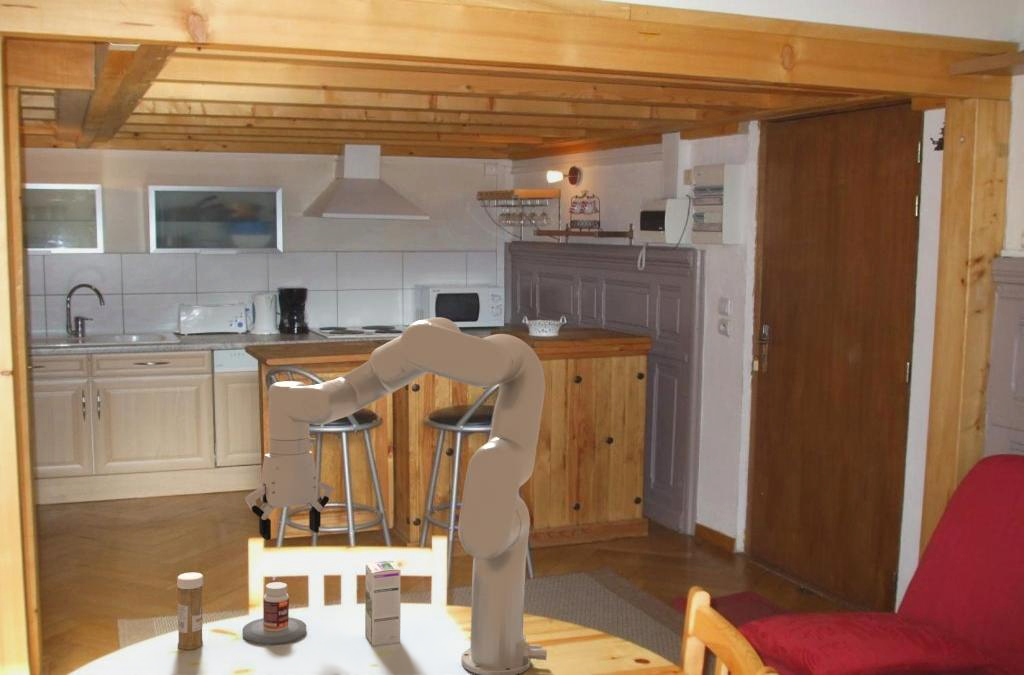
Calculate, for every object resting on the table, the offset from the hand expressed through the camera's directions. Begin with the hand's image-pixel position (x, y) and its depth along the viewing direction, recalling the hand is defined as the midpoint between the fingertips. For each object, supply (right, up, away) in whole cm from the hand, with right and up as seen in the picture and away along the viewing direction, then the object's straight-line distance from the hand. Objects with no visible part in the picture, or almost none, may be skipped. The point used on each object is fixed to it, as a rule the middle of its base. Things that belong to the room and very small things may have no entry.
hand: (290, 534), depth 198 cm
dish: (-3, -19, +1) cm, 20 cm away
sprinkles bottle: (-17, -20, -6) cm, 27 cm away
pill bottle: (-3, -18, +1) cm, 19 cm away
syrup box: (+18, -20, 0) cm, 27 cm away
